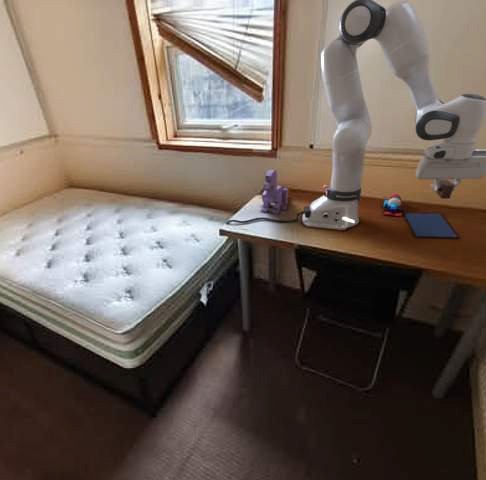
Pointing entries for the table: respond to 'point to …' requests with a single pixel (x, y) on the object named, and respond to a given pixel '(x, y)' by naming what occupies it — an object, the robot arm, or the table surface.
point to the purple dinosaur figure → (274, 193)
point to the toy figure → (393, 205)
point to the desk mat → (430, 225)
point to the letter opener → (444, 189)
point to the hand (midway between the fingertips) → (443, 190)
